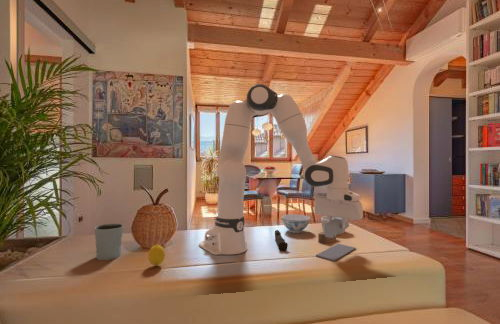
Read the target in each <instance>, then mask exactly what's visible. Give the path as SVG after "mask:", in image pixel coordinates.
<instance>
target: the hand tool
mask: <svg viewBox="0 0 500 324" xmlns="http://www.w3.org/2000/svg"><path fill="white" fill-rule="evenodd" d="M281 233H282V232H281V231H280V230H279V229H276V230H274V241H275V242H276V244H277V247H278V251H281V252H283V251H284V252H285V251H287V250H288V246H289V244H288V242H286V241H285V239H284V238H283V237H282V234H281Z"/></svg>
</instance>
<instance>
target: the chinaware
mask: <svg viewBox="0 0 500 324" xmlns="http://www.w3.org/2000/svg"><path fill="white" fill-rule="evenodd" d="M281 221H282V223H283V225H284V227H285V228H286V229H287V230H288V231H289V232H290V233H294V234H300V233H302V232H303V230H305V229H306V228H307V227H308V225H309V223H310V221H311V217H310V216H309V215H306V214H305V215H304V214H295V213H290V214H289V213H287V214H283V215H281Z"/></svg>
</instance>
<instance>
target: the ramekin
mask: <svg viewBox="0 0 500 324" xmlns="http://www.w3.org/2000/svg"><path fill="white" fill-rule="evenodd" d="M335 218H337V217H333V218H332V220H333V219H335ZM320 220H321V227H322V228H321V229H322V232H323V231H325V224H326V223H328V222H329V221H328V219H327V216H326V215H325V216H322V217H321V219H320ZM345 232H346V229H345V230H343V231H342V232H340V233H339V234H338V235H342V234H344V233H345Z"/></svg>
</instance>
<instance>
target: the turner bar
mask: <svg viewBox="0 0 500 324" xmlns="http://www.w3.org/2000/svg"><path fill="white" fill-rule="evenodd" d="M342 223H343V220H342V218H339V217H337V218H335V219H333V220H332V221H330V222H328V223H326V224H325V237H329V238H333V237H335V236H336V237H337V236H338V235H340V234H339V233H340V232H342V231H343V230H345V231H346V229H348V228H349V226H350V219H348V221H347V222H346V224H345V229H341V228H340V224H342Z"/></svg>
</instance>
